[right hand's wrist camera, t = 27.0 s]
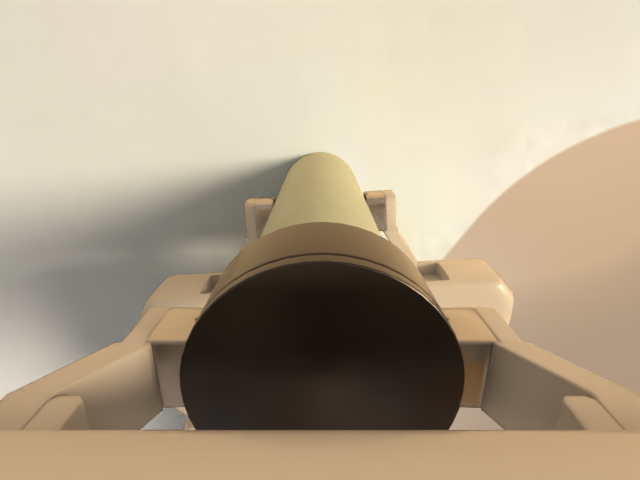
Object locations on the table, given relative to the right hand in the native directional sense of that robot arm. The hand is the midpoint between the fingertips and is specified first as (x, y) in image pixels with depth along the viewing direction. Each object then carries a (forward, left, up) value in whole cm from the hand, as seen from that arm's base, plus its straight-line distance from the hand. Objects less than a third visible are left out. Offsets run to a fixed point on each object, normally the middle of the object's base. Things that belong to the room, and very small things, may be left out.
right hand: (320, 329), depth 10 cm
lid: (0, 0, +2) cm, 2 cm away
